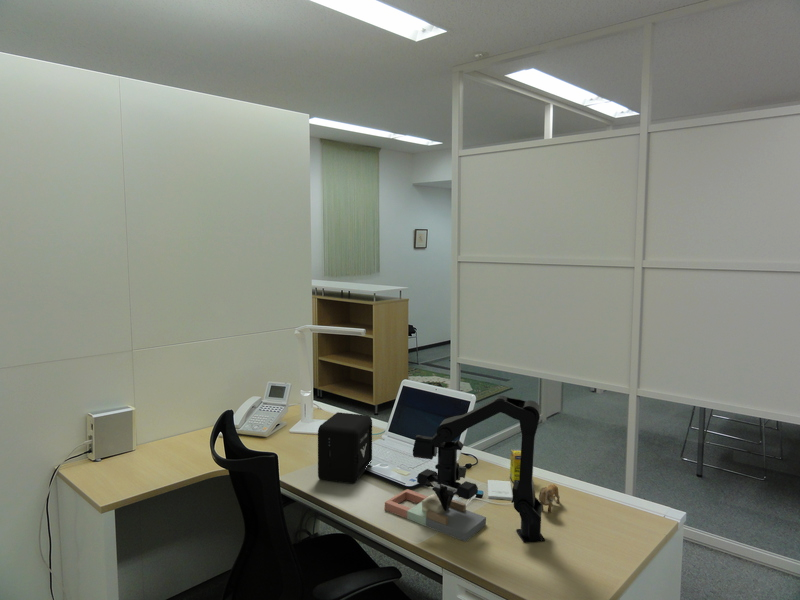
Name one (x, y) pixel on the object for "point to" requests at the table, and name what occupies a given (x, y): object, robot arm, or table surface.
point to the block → (432, 504)
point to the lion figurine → (549, 496)
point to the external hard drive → (499, 490)
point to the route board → (438, 516)
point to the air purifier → (344, 447)
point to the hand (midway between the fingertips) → (446, 510)
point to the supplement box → (515, 465)
